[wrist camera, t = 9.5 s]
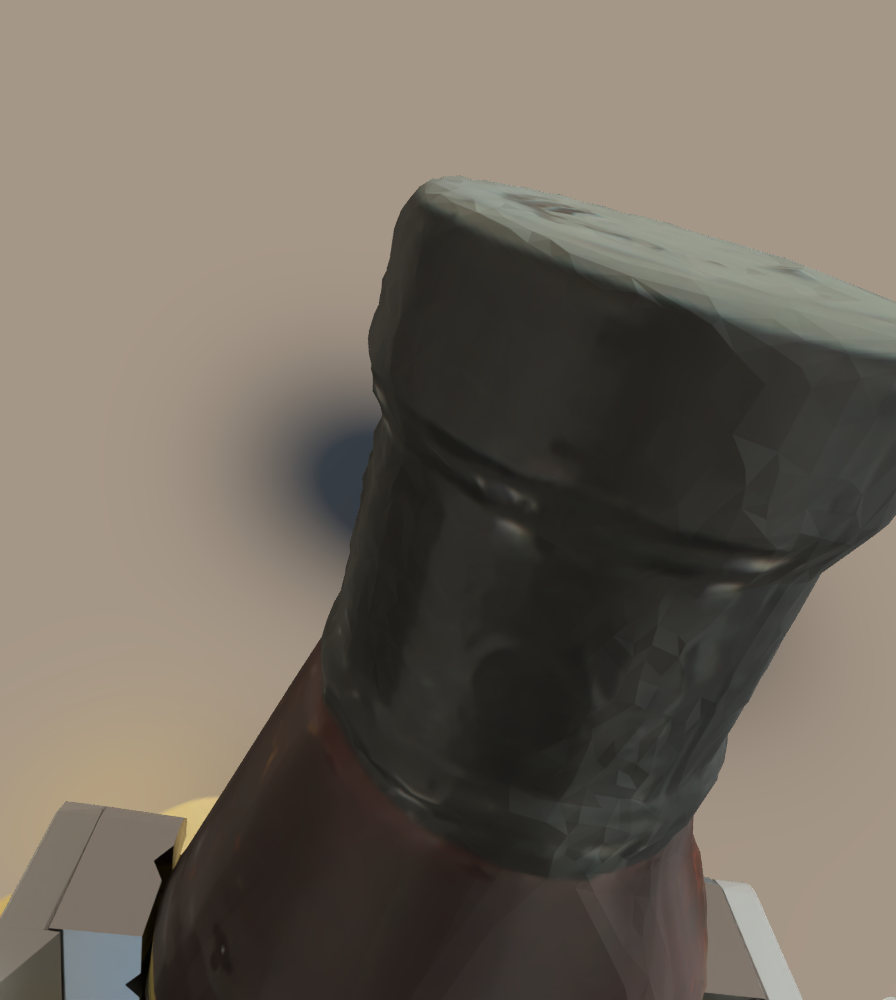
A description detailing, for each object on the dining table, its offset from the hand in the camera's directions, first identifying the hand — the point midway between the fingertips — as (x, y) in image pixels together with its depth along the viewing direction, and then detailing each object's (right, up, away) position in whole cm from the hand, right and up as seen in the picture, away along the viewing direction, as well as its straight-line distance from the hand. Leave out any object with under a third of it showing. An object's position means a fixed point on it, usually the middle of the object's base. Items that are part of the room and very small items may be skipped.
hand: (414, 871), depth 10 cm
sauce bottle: (-2, -10, +4) cm, 11 cm away
